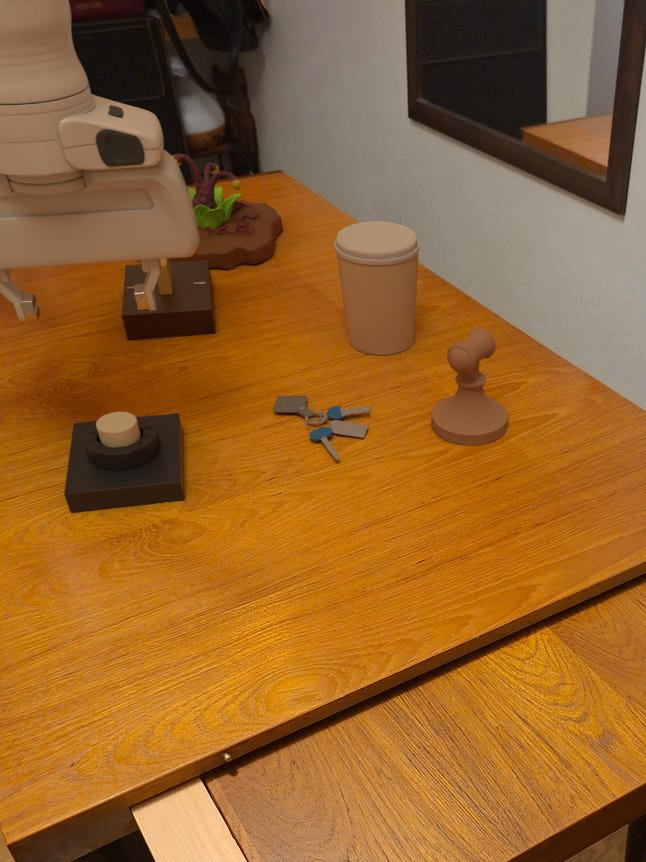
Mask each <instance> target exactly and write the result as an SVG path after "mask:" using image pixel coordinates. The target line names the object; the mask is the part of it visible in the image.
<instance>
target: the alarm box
mask: <svg viewBox="0 0 646 862" xmlns="http://www.w3.org/2000/svg"><path fill="white" fill-rule="evenodd" d="M134 416H135V415H134ZM135 417H136V418H137V422H138V425H139V429H140V433H141V437H140V439H139V440H138V441H137V442H135V443H133V444H130V445H128V446H124V447H114V448H112V447H107V446H104V445H103V444H102V443H101V440H100V437H99V434H98V431H97V428H96V422H97V420H91V421H81V422H74V423H73V425H72V433H71V439H70V447H69V455H68V463H67V471H66V477H65V486H64V492H63V494H64V498H65V501H66V503H67V506H68V510H69V512H70V514H77V513H88V512H96V511H105V510H113V509H123V508H131V507H132V508H133V507H140V506H149V505H157V503H159V504H167V503H166V502H168V503H176V502H175V501H177V502H184V501H186V494H185V493H186V492H185V491H186V490H185V489H186V488H185V449H184V447H185V445H184V428H183V424H182V420H181V416H180V413H179V412H176V413H165V414H164V413H163V414H154V415H144V416H135Z"/></svg>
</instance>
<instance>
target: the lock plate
mask: <svg viewBox="0 0 646 862" xmlns="http://www.w3.org/2000/svg"><path fill="white" fill-rule="evenodd" d="M170 266H171V271H172V275H173V294H169V295H160V290H159V286H158V282H157V283H156V286H155V288H154V294H155V299H156V305H157V309H156V311H145V312H139V311H138V308H137V302H136V300H135V296H134V285H136V284H144V281H145V278H146V275H147V273H148V272H143V269H142V265H141V263H140V264H139V263H138V264H126V265H125V266H124V279H123V293H122V305H121V319H122V323H123V327H124V331H125V334H126V338H127V341H132V340H134V341H135V340H146V339H159V338H170V337H171V338H172V337H184V336H199V335H208V334H209V335H211V334H216V333H217V330H216V329H217V328H216V317H215V315H216V314H215V303H214V292H213V291H214V290H213V281H212V275H211V271H210V269H209V264H208V260H202V261H187V262H171V263H170Z"/></svg>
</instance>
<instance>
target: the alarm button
mask: <svg viewBox="0 0 646 862" xmlns="http://www.w3.org/2000/svg"><path fill="white" fill-rule="evenodd" d="M136 417H137V416H136ZM136 417H135V414H133V413H131V412H128V411H113V412H109V413H106V414H104V415H102V416H100V417H99V418H98V419H97V420H96V421H97V422H96V428H97V431H98V434H99V437H100V440H101V443H102V444H103V445H104V446H107V447H112V448H114V447H124V446H128V445H130V444H133V443H135V442H137V441H138V440H139V439H140V437H141V433H140V429H139V425H138V422H137V418H136Z"/></svg>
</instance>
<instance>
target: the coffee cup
mask: <svg viewBox="0 0 646 862" xmlns="http://www.w3.org/2000/svg"><path fill="white" fill-rule="evenodd" d="M333 245H334V251H335V253H336V260H337V267H338V268H337V269H338V276H339V281H340V289H341V295H342V302H343V311H344V316H345V323H346V330H347V335H348V341H349V344H350V345H351V346H352V348H353V349H355V350H357V351H359V352H361V353H364V354H368V355H374V356H391V355H394V354H399V353H402V352H404V351H406V350H408V349H410V347H412V345H413V344H414V341H415V335H416V333H415V331H416V318H417V317H416V314H417V297H418V296H417V294H418V274H419V273H418V272H419V252H420V247H421V243H420V240H419V238H418V236H417V233H416V232H415V231H414V230H413V229H411V228H410V227H408V226H405V225H403V224H400V223H395V222H392V221H391V222H390V221H376V220H375V221H374V220H373V221H364V222H358V223H357V222H356V223H353V224H350V225H348V226H345V227H344V228H342V229H340V230H339V231H338V233H337V235H336V238H335V240H334V243H333Z"/></svg>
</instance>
